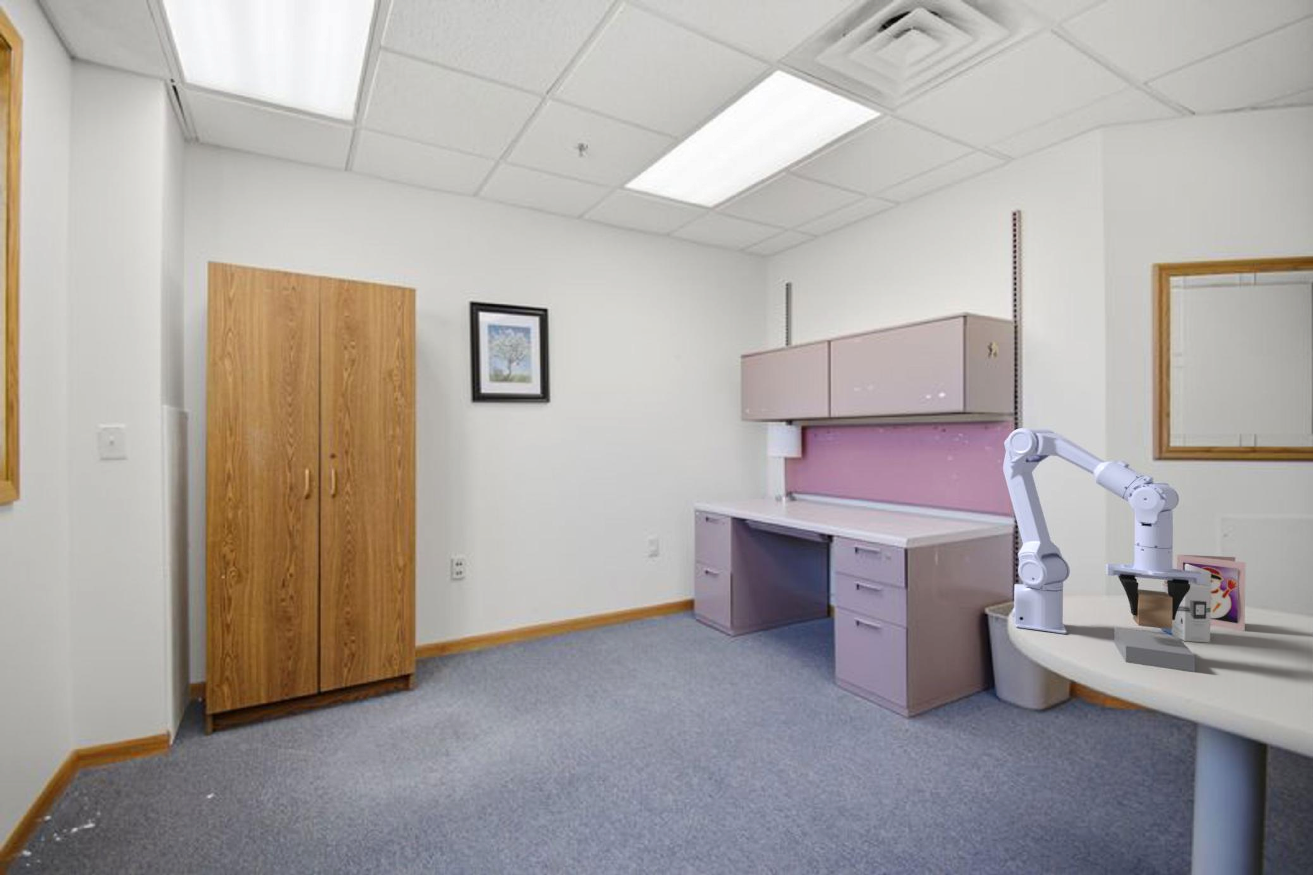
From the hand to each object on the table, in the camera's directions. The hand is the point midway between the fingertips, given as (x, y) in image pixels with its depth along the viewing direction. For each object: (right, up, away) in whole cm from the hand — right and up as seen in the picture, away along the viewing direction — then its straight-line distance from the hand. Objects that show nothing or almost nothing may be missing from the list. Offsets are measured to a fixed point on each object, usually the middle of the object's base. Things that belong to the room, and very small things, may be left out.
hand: (1152, 616), depth 117 cm
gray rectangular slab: (0, -8, 0) cm, 8 cm away
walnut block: (0, -2, 0) cm, 2 cm away
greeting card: (+31, -8, +22) cm, 39 cm away
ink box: (+17, -8, +12) cm, 22 cm away
